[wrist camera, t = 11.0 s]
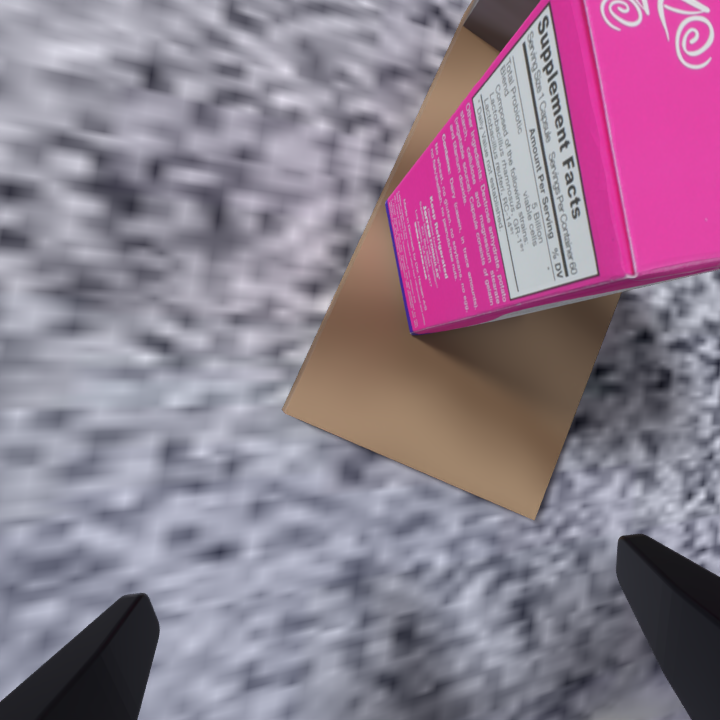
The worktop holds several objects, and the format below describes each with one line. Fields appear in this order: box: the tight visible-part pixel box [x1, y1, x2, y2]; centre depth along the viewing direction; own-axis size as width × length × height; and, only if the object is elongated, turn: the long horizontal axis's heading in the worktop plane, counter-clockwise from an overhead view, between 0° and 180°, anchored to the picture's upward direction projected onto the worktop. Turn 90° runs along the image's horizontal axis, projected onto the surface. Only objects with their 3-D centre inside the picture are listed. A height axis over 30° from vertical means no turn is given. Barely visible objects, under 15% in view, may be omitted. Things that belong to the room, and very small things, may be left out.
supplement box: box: [385, 0, 720, 335], centre depth 14 cm, size 6×6×12 cm
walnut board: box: [282, 0, 622, 520], centre depth 19 cm, size 20×12×4 cm, turn 156°
